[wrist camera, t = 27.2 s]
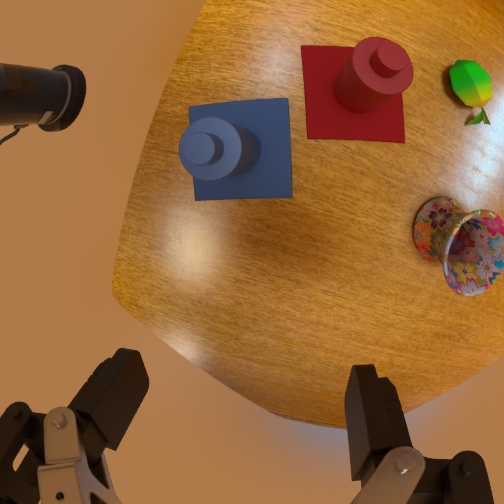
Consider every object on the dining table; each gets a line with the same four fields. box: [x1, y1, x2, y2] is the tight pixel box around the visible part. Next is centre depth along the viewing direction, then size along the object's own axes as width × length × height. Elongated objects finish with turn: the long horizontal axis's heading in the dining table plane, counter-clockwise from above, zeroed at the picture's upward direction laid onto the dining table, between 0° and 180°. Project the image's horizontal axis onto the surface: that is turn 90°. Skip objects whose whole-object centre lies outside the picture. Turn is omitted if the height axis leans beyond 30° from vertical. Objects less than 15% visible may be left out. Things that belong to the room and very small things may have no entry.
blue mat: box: [189, 98, 292, 201], centre depth 33 cm, size 12×12×1 cm
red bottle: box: [334, 37, 413, 113], centre depth 21 cm, size 5×5×14 cm
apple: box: [449, 60, 493, 125], centre depth 23 cm, size 7×6×9 cm
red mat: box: [301, 45, 405, 143], centre depth 28 cm, size 12×12×1 cm
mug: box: [414, 197, 504, 296], centre depth 27 cm, size 12×9×11 cm
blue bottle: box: [179, 117, 261, 181], centre depth 26 cm, size 5×5×14 cm
